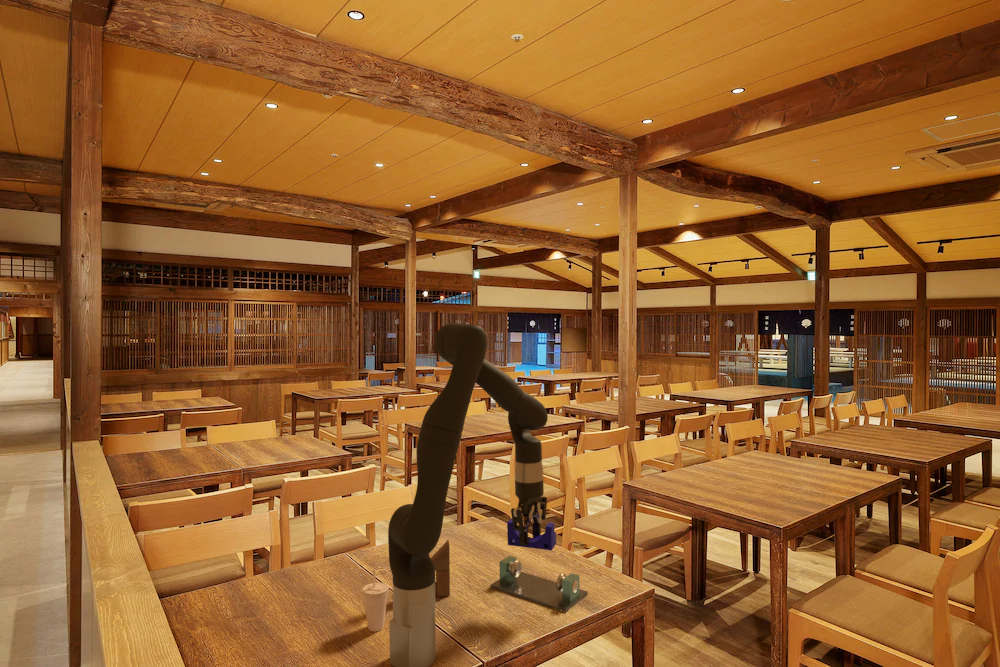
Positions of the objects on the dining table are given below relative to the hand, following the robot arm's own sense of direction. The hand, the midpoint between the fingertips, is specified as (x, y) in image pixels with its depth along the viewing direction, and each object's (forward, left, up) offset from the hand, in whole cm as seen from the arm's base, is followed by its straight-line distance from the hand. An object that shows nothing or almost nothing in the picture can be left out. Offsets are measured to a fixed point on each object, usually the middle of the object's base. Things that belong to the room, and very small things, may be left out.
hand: (530, 541), depth 148 cm
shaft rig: (+7, +2, -16) cm, 18 cm away
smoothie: (-32, +24, -16) cm, 43 cm away
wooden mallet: (-12, +25, -16) cm, 32 cm away
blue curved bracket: (0, 0, -1) cm, 1 cm away
